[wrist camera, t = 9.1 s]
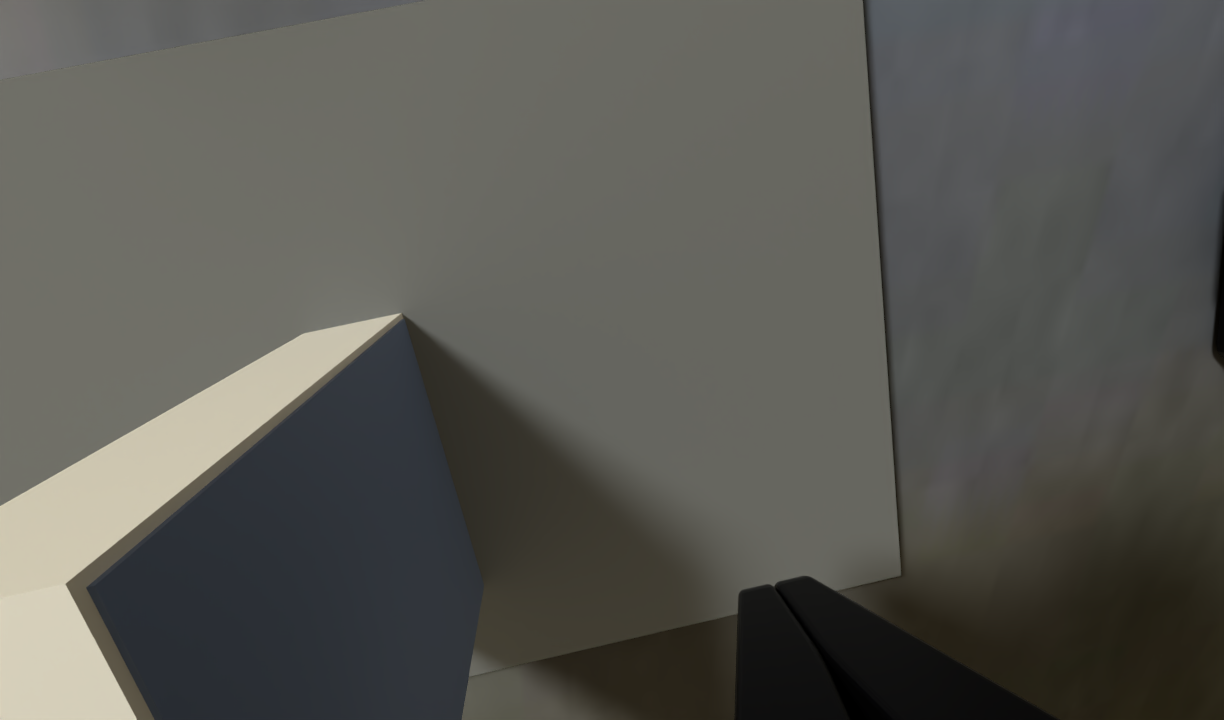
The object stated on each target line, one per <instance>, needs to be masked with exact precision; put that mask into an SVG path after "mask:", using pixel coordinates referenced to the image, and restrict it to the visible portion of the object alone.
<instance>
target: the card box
mask: <svg viewBox="0 0 1224 720" xmlns="http://www.w3.org/2000/svg"><path fill="white" fill-rule="evenodd" d="M483 589H484V583H483V580H482V576H481V573H480V570H479V566H478V563H477V560H476V556H475V553H474V550H473V546H472V543H471V540H470V536H469V533H468V530H467V526H466V523H465V520H464V516H463V513H462V509H461V506H460V503H459V499H458V496H457V493H456V489H455V486H454V483H453V479H452V476H451V473H450V469H449V466H448V463H447V459H446V456H445V453H444V449H443V446H442V443H441V439H440V436H439V432H438V429H437V426H436V422H435V419H434V416H433V412H432V409H431V406H430V402H429V399H428V396H427V392H426V389H425V386H424V382H423V379H422V376H421V372H420V369H419V366H418V362H417V359H416V356H415V352H414V349H413V345H412V342H411V339H410V335H409V332H408V329H407V325H406V322H405V319H403V316H402V313H399V314H394V315H390V316H385V317H380V318H375V319H370V320H366V321H361V322H356V323H351V324H347V325H342V326H337V327H332V328H327V329H323V330H318V331H313V332H308V333H303V334H302V335H300V336H298V337H296V338H295V339H293V340H291V341H289V342H288V343H286V344H284V345H282V346H281V347H279V348H277V349H275V350H274V351H272V352H270V353H268V354H267V355H265V356H263V357H261V358H260V359H258V360H256V361H254V362H252V363H251V364H249V365H247V366H245V367H244V368H242V369H240V370H238V371H237V372H235V373H233V374H231V375H230V376H228V377H226V378H224V379H223V380H221V381H219V382H217V383H216V384H214V385H212V386H210V387H209V388H207V389H205V390H203V391H202V392H200V393H198V394H196V395H194V396H193V397H191V398H189V399H187V400H186V401H184V402H182V403H180V404H179V405H177V406H175V407H173V408H172V409H170V410H168V411H166V412H165V413H163V414H161V415H159V416H158V417H156V418H154V419H152V420H151V421H149V422H147V423H145V424H144V425H142V426H140V427H138V428H136V429H135V430H133V431H131V432H129V433H128V434H126V435H124V436H122V437H121V438H119V439H117V440H115V441H114V442H112V443H110V444H108V445H107V446H105V447H103V448H101V449H100V450H98V451H96V452H94V453H93V454H91V455H89V456H87V457H86V458H84V459H82V460H80V461H78V462H77V463H75V464H73V465H71V466H70V467H68V468H66V469H64V470H63V471H61V472H59V473H57V474H56V475H54V476H52V477H50V478H49V479H47V480H45V481H43V482H42V483H40V484H38V485H36V486H35V487H33V488H31V489H29V490H28V491H26V492H24V493H22V494H20V495H19V496H17V497H15V498H13V499H12V500H10V501H8V502H6V503H5V504H3V505H1V506H0V720H461V719H462V713H463V707H464V701H465V695H466V690H467V684H468V678H469V672H470V666H471V660H472V654H473V648H474V642H475V636H476V631H477V625H478V619H479V613H480V607H481V601H482V595H483Z"/></svg>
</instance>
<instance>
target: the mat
mask: <svg viewBox="0 0 1224 720" xmlns="http://www.w3.org/2000/svg"><path fill="white" fill-rule="evenodd" d="M399 313H402V316H403V319H405V322H406V325H407V329H408V332H409V335H410V339H411V342H412V345H413V349H414V352H415V356H416V359H417V362H418V366H419V369H420V372H421V376H422V379H423V382H424V386H425V389H426V392H427V396H428V399H429V402H430V406H431V409H432V412H433V416H434V419H435V422H436V426H437V429H438V432H439V436H440V439H441V443H442V446H443V449H444V453H445V456H446V459H447V463H448V466H449V469H450V473H451V476H452V479H453V483H454V486H455V489H456V493H457V496H458V499H459V503H460V506H461V509H462V513H463V516H464V520H465V523H466V526H467V530H468V533H469V536H470V540H471V543H472V546H473V550H474V553H475V556H476V560H477V563H478V566H479V570H480V573H481V576H482V580H483V583H484V589H483V595H482V601H481V607H480V613H479V619H478V625H477V631H476V636H475V642H474V648H473V654H472V660H471V666H470V672H469V677H470V676H474V675H478V674H483V673H487V672H491V671H496V670H500V669H504V668H508V667H513V666H517V665H521V664H525V663H530V662H534V661H538V660H543V659H547V658H551V657H555V656H560V655H564V654H568V653H572V652H577V651H581V650H585V649H590V648H594V647H598V646H602V645H607V644H611V643H615V642H619V641H624V640H628V639H632V638H637V637H641V636H645V635H649V634H654V633H658V632H662V631H667V630H671V629H675V628H679V627H684V626H688V625H692V624H696V623H701V622H705V621H709V620H714V619H718V618H722V617H726V616H731V615H735V614H738V595H739V592H740V591H741V590H743V589H747V588H752V587H756V586H760V585H765V584H770V585H772V586H775V584H776V583H777V582H778V581H782V580H786V579H791V578H795V577H799V576H810V577H812V578H814V579H816V580H817V581H819V582H821V583H823V584H824V585H826V586H828V587H830V588H831V589H833V590H835V591H837V590H842V589H846V588H850V587H855V586H859V585H863V584H867V583H872V582H876V581H880V580H884V579H889V578H893V577H897V576H901V565H900V550H899V535H898V520H897V505H896V490H895V475H894V460H893V446H892V431H891V416H890V401H889V386H888V371H887V356H886V341H885V326H884V311H883V296H882V281H881V266H880V251H879V237H878V222H877V207H876V192H875V177H874V162H873V147H872V132H871V117H870V102H869V87H868V72H867V57H866V42H865V28H864V13H863V0H425V1H420V2H415V3H409V4H404V5H399V6H393V7H388V8H383V9H377V10H372V11H366V12H361V13H356V14H350V15H345V16H340V17H334V18H329V19H324V20H318V21H313V22H308V23H302V24H297V25H292V26H286V27H281V28H276V29H270V30H265V31H259V32H254V33H249V34H243V35H238V36H233V37H227V38H222V39H217V40H211V41H206V42H201V43H195V44H190V45H185V46H179V47H174V48H168V49H163V50H158V51H152V52H147V53H142V54H136V55H131V56H126V57H120V58H115V59H110V60H104V61H99V62H94V63H88V64H83V65H78V66H72V67H67V68H61V69H56V70H51V71H45V72H40V73H35V74H29V75H24V76H19V77H13V78H8V79H3V80H0V506H1V505H3V504H5V503H6V502H8V501H10V500H12V499H13V498H15V497H17V496H19V495H20V494H22V493H24V492H26V491H28V490H29V489H31V488H33V487H35V486H36V485H38V484H40V483H42V482H43V481H45V480H47V479H49V478H50V477H52V476H54V475H56V474H57V473H59V472H61V471H63V470H64V469H66V468H68V467H70V466H71V465H73V464H75V463H77V462H78V461H80V460H82V459H84V458H86V457H87V456H89V455H91V454H93V453H94V452H96V451H98V450H100V449H101V448H103V447H105V446H107V445H108V444H110V443H112V442H114V441H115V440H117V439H119V438H121V437H122V436H124V435H126V434H128V433H129V432H131V431H133V430H135V429H136V428H138V427H140V426H142V425H144V424H145V423H147V422H149V421H151V420H152V419H154V418H156V417H158V416H159V415H161V414H163V413H165V412H166V411H168V410H170V409H172V408H173V407H175V406H177V405H179V404H180V403H182V402H184V401H186V400H187V399H189V398H191V397H193V396H194V395H196V394H198V393H200V392H202V391H203V390H205V389H207V388H209V387H210V386H212V385H214V384H216V383H217V382H219V381H221V380H223V379H224V378H226V377H228V376H230V375H231V374H233V373H235V372H237V371H238V370H240V369H242V368H244V367H245V366H247V365H249V364H251V363H252V362H254V361H256V360H258V359H260V358H261V357H263V356H265V355H267V354H268V353H270V352H272V351H274V350H275V349H277V348H279V347H281V346H282V345H284V344H286V343H288V342H289V341H291V340H293V339H295V338H296V337H298V336H300V335H302V334H303V333H308V332H313V331H318V330H323V329H327V328H332V327H337V326H342V325H347V324H351V323H356V322H361V321H366V320H370V319H375V318H380V317H385V316H390V315H394V314H399Z"/></svg>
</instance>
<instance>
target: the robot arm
mask: <svg viewBox="0 0 1224 720" xmlns="http://www.w3.org/2000/svg"><path fill="white" fill-rule="evenodd" d="M1217 347H1218V352H1219V354H1220V355H1221V357H1223V358H1224V275H1223V286H1222V296H1221V307H1220V318H1219V328H1218V339H1217ZM734 720H1060V719H1058V718H1056V717H1055V716H1053V715H1051V714H1049V713H1048V712H1046V711H1044V710H1042V709H1041V708H1039V707H1037V706H1036V705H1034V704H1032V703H1030V702H1029V701H1027V700H1025V699H1023V698H1022V697H1020V696H1018V695H1016V694H1015V693H1013V692H1011V691H1009V690H1008V689H1006V688H1004V687H1002V686H1001V685H999V684H997V683H995V682H994V681H992V680H990V679H988V678H987V677H985V676H983V675H981V674H980V673H978V672H976V671H974V670H973V669H971V668H969V667H967V666H966V665H964V664H962V663H961V662H959V661H957V660H955V659H954V658H952V657H950V656H948V655H947V654H945V653H943V652H941V651H940V650H938V649H936V648H934V647H933V646H931V645H929V644H927V643H926V642H924V641H922V640H920V639H919V638H917V637H915V636H913V635H912V634H910V633H908V632H906V631H905V630H903V629H901V628H899V627H898V626H896V625H894V624H892V623H891V622H889V621H887V620H886V619H884V618H882V617H880V616H879V615H877V614H875V613H873V612H872V611H870V610H868V609H866V608H865V607H863V606H861V605H859V604H858V603H856V602H854V601H852V600H851V599H849V598H847V597H845V596H844V595H842V594H840V593H838V592H837V591H835V590H833V589H831V588H830V587H828V586H826V585H824V584H823V583H821V582H819V581H817V580H816V579H814V578H812V577H810V576H799V577H795V578H791V579H786V580H782V581H778V582H777V583H776V584H775V586H772V585H770V584H765V585H760V586H756V587H752V588H747V589H743V590H741V591H740V592H739V595H738V621H737V653H736V685H735V718H734Z"/></svg>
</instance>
